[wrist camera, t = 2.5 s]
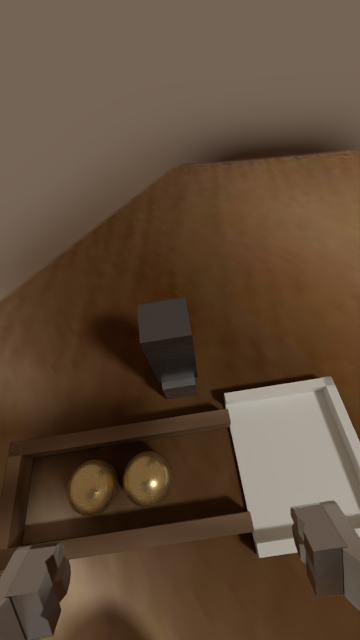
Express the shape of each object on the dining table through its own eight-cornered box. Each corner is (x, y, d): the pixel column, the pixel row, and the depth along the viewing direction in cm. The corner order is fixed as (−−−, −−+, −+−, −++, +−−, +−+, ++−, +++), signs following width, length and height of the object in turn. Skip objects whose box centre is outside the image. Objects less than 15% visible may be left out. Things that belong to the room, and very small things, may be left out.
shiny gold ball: (178, 503, 24) (172, 503, 21) (130, 510, 24) (116, 511, 21) (172, 451, 26) (166, 443, 23) (128, 457, 26) (116, 451, 23)
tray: (389, 534, 22) (400, 536, 20) (256, 554, 22) (259, 557, 21) (325, 381, 28) (331, 376, 27) (223, 398, 28) (224, 393, 27)
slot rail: (251, 529, 23) (254, 531, 21) (4, 566, 23) (-13, 571, 21) (227, 414, 27) (227, 408, 26) (22, 446, 28) (10, 442, 26)
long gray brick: (200, 394, 29) (193, 343, 19) (164, 400, 29) (140, 351, 19) (193, 353, 31) (184, 290, 22) (159, 358, 31) (136, 298, 22)
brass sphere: (124, 511, 24) (109, 513, 21) (77, 518, 24) (55, 521, 21) (123, 458, 26) (110, 452, 23) (80, 465, 26) (60, 460, 23)
